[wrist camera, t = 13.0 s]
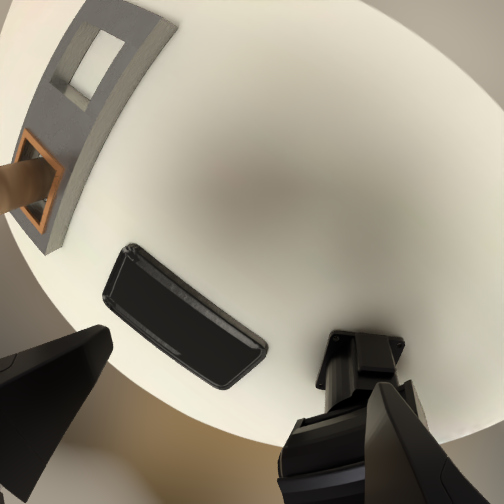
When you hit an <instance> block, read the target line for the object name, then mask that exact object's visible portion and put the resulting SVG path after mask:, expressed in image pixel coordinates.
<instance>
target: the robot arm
mask: <svg viewBox="0 0 504 504" xmlns="http://www.w3.org/2000/svg"><path fill="white" fill-rule="evenodd" d="M335 336H337V337H338V338H333V337H335ZM399 343H401V344H400V345H397V344H399ZM404 347H405V342H404V339H402V338H396V337H387V336H382V335H373V334H364V333H351V332H343V331H333V332H331V333H330V336H329V339H328V343H327V346H326V350H325V353H324V357H323V360H322V363H321V367H320V370H319V373H318V376H317V380H316V388H317V389H321V390H326V394H325V414H321V415H318V416H314V417H311V418H307V419H305V418H303V419H299V420H297V422H296V424H295V426H294V428H293V430H292V432H291V434H290V436H289V438H288V440H287V442H286V444H285V445H284V447H283V449H282V451H281V453H280V456H279V459H278V474H279V478H278V479H277V482H278V485H279V487H280V490H281V492H282V495H283V499H284V503H285V504H490V503H489V502H488V501H487V500H486V499H485V498H484V497H483V496H482V495H481V494H480V493H479V491H478V490H477V489H476V488H475V487H474V486H473V485H472V484H471V483H470V482H469V481H468V480H467V479H466V478H465V476H464V475H463V474H462V473H461V472H460V471H459V469H458V468H457V467H456V466H455V464H454V463H453V462H452V461H451V459H450V458H449V457H447V454H446V453H445V451H444V450H443V449H442V448H441V446H440V445H439V444H438V442H437V441H436V440H435V438H434V437H433V436H432V435H431V433H430V432H429V429H428V425H427V421H426V417H425V413H424V411H423V408H422V405H421V403H420V400H419V397H418V395H417V392H416V390H415V387H414V385H413V383H412V380H408V381H406V382H404V384H403V385H400V386H399V382H398V378H397V374H396V364H397V362H398V360H399V358H400V356H401V353H402V351H403V349H404ZM112 351H113V342H112V338H111V334H110V330H109V328H108V327H106V326H103V325H95V326H92V327H89V328H87V329H84V330H81V331H78V332H76V333H73V334H70V335H67V336H64V337H62V338H59V339H56V340H53V341H50V342H47V343H45V344H42V345H39V346H36V347H33V348H30V349H27V350H25V351H22V352H19V353H18V354H17V353H16V354H13V355H10V356H7V357H4V358H1V359H0V490H1V489H2V487H5V488H6V489H7V490H8V491H10V492H11V493H12V494H13V495H15V496H16V497H17V498H19V499H20V500H21V501H23V502H24V503H26V502H27V500H28V499H29V497H30V495H31V493H32V491H33V489H34V487H35V485H36V483H37V481H38V480H39V478H40V476H41V474H42V472H43V470H44V469H45V467H46V464H47V463H48V461H49V459H50V457H51V456H52V454H53V453H54V451H55V449H56V447H57V446H58V444H59V442H60V441H61V439H62V437H63V435H64V434H65V432H66V431H67V429H68V427H69V426H70V424H71V422H72V421H73V419H74V417H75V416H76V414H77V412H78V411H79V409H80V407H81V406H82V404H83V403H84V401H85V400H86V398H87V397H88V395H89V393H90V392H91V390H92V388H93V387H94V385H95V384H96V382H97V380H98V378H99V376H100V374H101V372H102V370H103V368H104V367H105V365H106V363H107V361H108V359H109V357H110V355H111V353H112ZM320 384H321V385H320ZM0 504H4V498H3V493H1V492H0Z"/></svg>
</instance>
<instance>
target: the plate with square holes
mask: <svg viewBox="0 0 504 504" xmlns="http://www.w3.org/2000/svg"><path fill="white" fill-rule="evenodd" d="M100 29H102V30H104V31H106V32H107V33H109V34H111V35H113V36H115V37H117V38H119V39H121V40H123V41H124V42H125V44H124V45H123V47H122V48H121V50H120V51H119V53H118V54H117V56H116V57H115V59H114V60H113V62H112V64H111V65H110V67H109V68H108V70H107V72H106V73H105V75H104V77H103V79H102V80H101V82H100V84H99V86H98V87H97V89H96V91H95V93H94V95H93V97H92V98H91V100H90V101H89V100H88V99H87V98H86V97H84V96H83V95H82V94H81V93H79V92H78V91H77V90H75V89H74V88H73V87H72V86H70V85H69V82H70V80H71V78H72V76H73V74H74V73H75V71H76V69H77V67H78V65H79V63H80V62H81V60H82V58H83V56H84V55H85V53H86V51H87V50H88V48H89V46H90V45H91V43H92V41H93V40H94V38H95V37H96V35H97V34H98V32H99V30H100ZM177 29H178V27H176V26H175V25H173V24H172V23H170V22H169V21H167V20H166V19H164V18H163V17H161V16H159V15H156V14H154V13H152V12H150V11H147V10H145V9H143V8H140V7H138V6H136V5H133V4H131V3H128V2H126V1H123V0H86V1H85V3H84V4H83V6H82V7H81V9H80V10H79V12H78V13H77V15H76V16H75V18H74V19H73V21H72V23H71V24H70V26H69V27H68V29H67V31H66V32H65V34H64V36H63V37H62V39H61V41H60V43H59V45H58V46H57V48H56V50H55V52H54V54H53V56H52V58H51V60H50V62H49V64H48V66H47V68H46V70H45V72H44V74H43V76H42V78H41V80H40V83H39V85H38V87H37V89H36V92H35V94H34V96H33V99H32V101H31V104H30V106H29V109H28V112H27V114H26V117H25V120H24V123H23V126H22V129H21V132H20V135H19V138H18V141H17V144H16V148H15V151H14V154H13V158H12V162H11V163H16V162H21V161H25V160H30V159H35V158H38V156H39V153H40V154H41V155H42V156H43V157H44V159H45V160H46V161H47V162H48V163H49V164H50V165H51V166H52V167H53V168H54V169H55V170H56V171H57V172H56V174H55V177H54V180H53V183H52V186H51V189H50V192H49V195H48V198H47V201H46V202H45V201H44V200H40V201H37V202H34V203H31V204H28V205H26V206H23V207H20V208H17V209H14V210H12V211H9V212H10V213H11V214H12V216H13V217H14V218H15V220H16V221H17V222H18V224H19V225H20V226H21V227H22V229H23V230H24V231H25V233H26V234H27V235H28V236H29V238H30V239H31V240H32V241H33V242H34V244H35V245H36V246H37V247H38V248H39V250H40V251H41V252H42V253H43V254H44V255H45V256H46V255H47V254H49V253H51V252H53V251H55V250H57V249H59V248H60V247H62V244H63V241H64V238H65V235H66V232H67V229H68V226H69V223H70V220H71V218H72V215H73V212H74V210H75V207H76V204H77V202H78V199H79V197H80V194H81V192H82V190H83V187H84V185H85V183H86V180H87V178H88V176H89V174H90V171H91V169H92V167H93V165H94V163H95V160H96V158H97V156H98V154H99V152H100V150H101V148H102V146H103V144H104V142H105V140H106V138H107V136H108V134H109V133H110V131H111V129H112V127H113V125H114V123H115V121H116V120H117V118H118V116H119V114H120V113H121V111H122V109H123V107H124V106H125V104H126V102H127V101H128V99H129V97H130V96H131V94H132V92H133V91H134V89H135V88H136V86H137V85H138V83H139V81H140V80H141V78H142V77H143V75H144V74H145V72H146V71H147V69H148V68H149V66H150V65H151V64H152V62H153V61H154V59H155V58H156V56H157V55H158V54H159V52H160V51H161V50H162V48H163V47H164V46H165V44H166V43H167V42H168V40H169V39H170V38H171V36H172V35H173V34H174V33H175V31H176V30H177Z"/></svg>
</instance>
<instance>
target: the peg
mask: <svg viewBox="0 0 504 504" xmlns="http://www.w3.org/2000/svg"><path fill="white" fill-rule="evenodd" d="M56 172H57V171H56V170H55V169H54V168H53V167H52V166H51V165H50V164H49V163H48V162H47V161H46V160H45V159H44V157H41V158H35V159H30V160H25V161H21V162H16V163H11V164H7V165H3V166H0V215H1V214H4V213H7V212H9V211H12V210H14V209H17V208H20V207H23V206H26V205H28V204H31V203H34V202H37V201H40V200H43V199H46V198H48V195H49V192H50V189H51V186H52V183H53V180H54V177H55V174H56Z"/></svg>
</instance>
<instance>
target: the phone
mask: <svg viewBox="0 0 504 504" xmlns="http://www.w3.org/2000/svg"><path fill="white" fill-rule="evenodd" d="M102 298H103V301H104V303H105V305H106V306H107V307H108V308H109V309H110V310H111V311H112V312H114V313H115V314H116V315H117V316H118V317H120V318H121V319H122V320H123V321H124V322H125V323H127V324H128V325H129V326H130V327H132V328H133V329H134V330H135V331H137V332H138V333H139V334H140V335H142V336H143V337H144V338H145V339H147V340H148V341H149V342H150V343H152V344H153V345H154V346H156V347H157V348H158V349H160V350H161V351H162V352H164V353H165V354H166V355H168V356H169V357H170V358H172V359H173V360H175V361H176V362H177V363H179V364H180V365H182V366H183V367H184V368H186V369H187V370H189V371H190V372H192V373H193V374H195V375H196V376H197V377H199V378H200V379H202V380H203V381H205V382H206V383H208V384H209V385H211V386H213V387H214V388H216V389H219V390H227V389H229V388H230V387H232V386H233V385H234V384H235V383H237V382H238V381H239V380H240V379H241V378H243V377H244V376H245V375H246V374H247V373H249V372H250V371H251V370H252V369H253V368H254V367H256V366H257V365H258V364H259V363H260V362H261V361H263V360H264V359H265V357H266V354H267V350H268V346H267V343H266V342H265V341H264V340H263V339H262V338H260V337H259V336H257V335H256V334H254V333H253V332H252V331H250V330H249V329H247V328H246V327H245V326H243V325H242V324H240V323H239V322H238V321H236V320H235V319H233V318H232V317H231V316H229V315H228V314H226V313H225V312H224V311H222V310H221V309H220V308H218V307H217V306H216V305H214V304H213V303H212V302H210V301H209V300H208V299H206V298H205V297H204V296H202V295H201V294H200V293H198V292H197V291H196V290H194V289H193V288H192V287H190V286H189V285H188V284H186V283H185V282H184V281H183V280H181V279H180V278H179V277H177V276H176V275H175V274H174V273H172V272H171V271H170V270H169V269H167V268H166V267H165V266H163V265H162V264H161V263H160V262H158V261H157V260H156V259H155V258H154V257H152V256H151V255H150V254H149V253H147V252H146V251H145V250H144V249H142V248H141V247H140V246H138V245H137V244H129V245H127V246H126V247H124V248H122V250H121V251H120V253H119V256H118V258H117V260H116V262H115V265H114V267H113V269H112V271H111V274H110V276H109V279H108V281H107V283H106V286H105V288H104V291H103V294H102Z"/></svg>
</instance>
